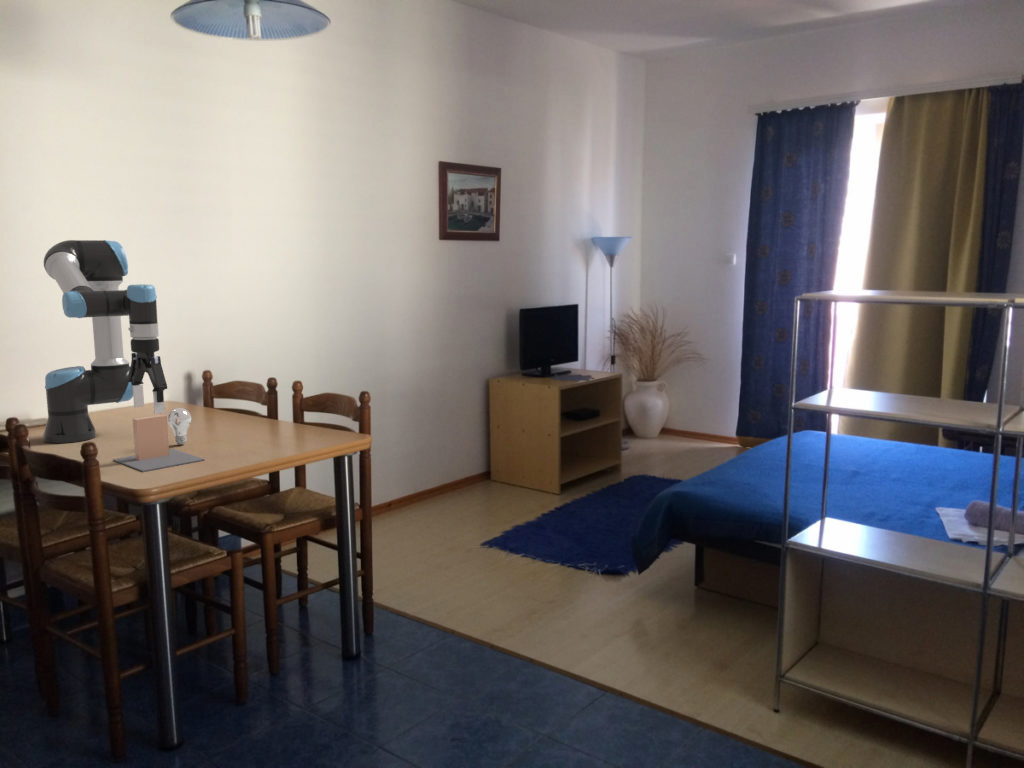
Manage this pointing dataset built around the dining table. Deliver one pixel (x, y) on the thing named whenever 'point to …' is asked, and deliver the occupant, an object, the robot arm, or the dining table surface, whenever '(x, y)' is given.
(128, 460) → the mat
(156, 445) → the tile
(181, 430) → the light bulb
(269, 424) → the dining table surface
